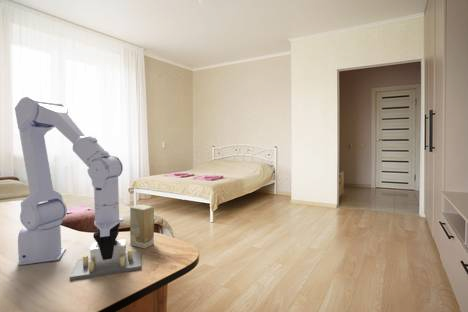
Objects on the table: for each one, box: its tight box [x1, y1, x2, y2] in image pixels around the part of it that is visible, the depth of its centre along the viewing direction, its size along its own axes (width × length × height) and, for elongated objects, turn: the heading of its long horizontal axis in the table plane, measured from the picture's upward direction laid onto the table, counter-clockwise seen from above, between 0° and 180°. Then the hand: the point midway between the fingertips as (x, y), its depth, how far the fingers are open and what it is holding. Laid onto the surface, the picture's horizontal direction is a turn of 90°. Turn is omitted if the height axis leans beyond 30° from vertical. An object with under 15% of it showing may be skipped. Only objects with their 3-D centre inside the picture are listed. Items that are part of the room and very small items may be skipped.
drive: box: [89, 238, 127, 268], centre depth 71 cm, size 8×4×5 cm, turn 111°
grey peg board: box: [69, 245, 142, 281], centre depth 71 cm, size 16×10×3 cm, turn 110°
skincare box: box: [129, 203, 155, 249], centre depth 85 cm, size 6×4×12 cm
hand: (108, 254), depth 71 cm, fingers open, 5 cm apart
